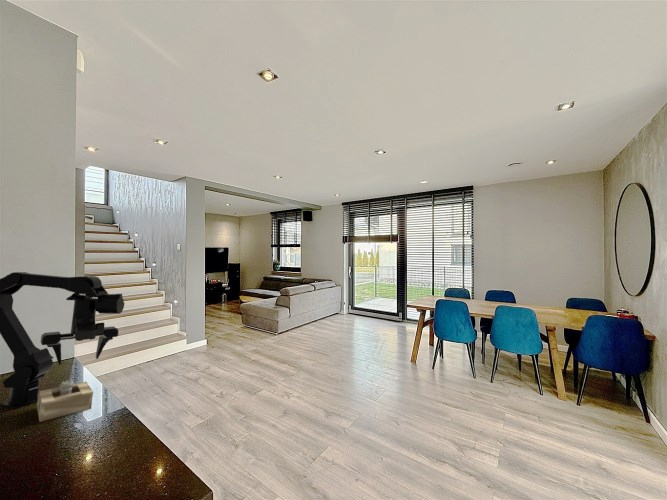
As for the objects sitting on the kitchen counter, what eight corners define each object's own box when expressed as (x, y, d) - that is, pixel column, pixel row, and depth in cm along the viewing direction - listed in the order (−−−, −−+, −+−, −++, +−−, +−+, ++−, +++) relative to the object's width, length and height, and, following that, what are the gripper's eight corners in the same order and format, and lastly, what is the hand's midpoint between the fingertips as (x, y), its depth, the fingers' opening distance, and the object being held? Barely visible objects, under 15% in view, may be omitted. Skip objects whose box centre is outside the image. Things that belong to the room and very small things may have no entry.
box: (36, 408, 85) (38, 391, 85) (84, 397, 93) (86, 381, 93) (39, 421, 77) (42, 403, 78) (91, 408, 86) (93, 391, 86)
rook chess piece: (62, 412, 83) (65, 385, 83) (49, 411, 83) (52, 383, 84) (77, 405, 87) (80, 379, 88) (65, 404, 88) (68, 378, 88)
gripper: (47, 319, 81) (40, 375, 80) (124, 314, 95) (120, 361, 94) (43, 314, 88) (37, 365, 87) (116, 310, 103) (111, 354, 101)
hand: (78, 361), depth 92 cm, fingers open, 9 cm apart
